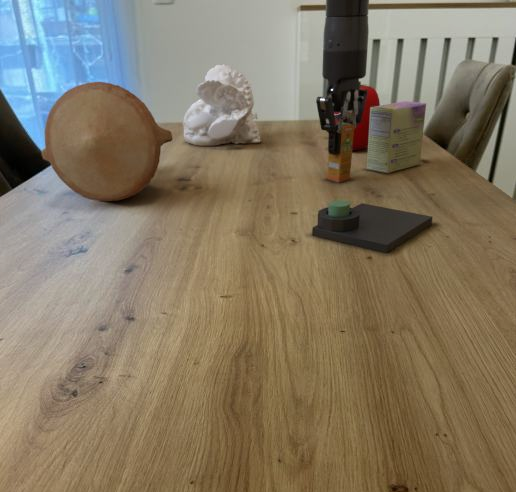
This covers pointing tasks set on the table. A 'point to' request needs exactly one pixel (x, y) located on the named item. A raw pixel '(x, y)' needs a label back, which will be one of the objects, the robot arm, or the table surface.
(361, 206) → the dark grey button base
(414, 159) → the box
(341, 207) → the button
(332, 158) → the supplement box
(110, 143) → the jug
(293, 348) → the table surface
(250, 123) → the white sculpted figurine
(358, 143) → the red apple
